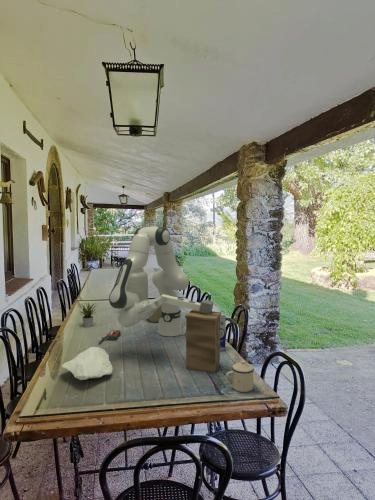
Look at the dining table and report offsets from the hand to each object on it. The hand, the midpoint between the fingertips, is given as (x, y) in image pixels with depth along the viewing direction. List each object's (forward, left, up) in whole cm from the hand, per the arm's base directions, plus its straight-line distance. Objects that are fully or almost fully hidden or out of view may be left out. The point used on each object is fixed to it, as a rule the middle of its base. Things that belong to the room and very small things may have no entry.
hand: (167, 297), depth 184 cm
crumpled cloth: (+26, -30, -32) cm, 51 cm away
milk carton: (-22, +21, -32) cm, 44 cm away
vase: (-77, -55, -32) cm, 100 cm away
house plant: (-38, -69, -32) cm, 85 cm away
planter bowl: (-63, -32, -32) cm, 78 cm away
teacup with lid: (+20, +40, -32) cm, 55 cm away
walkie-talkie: (-19, -43, -33) cm, 57 cm away
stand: (+3, +20, -32) cm, 38 cm away
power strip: (0, +10, -4) cm, 10 cm away
